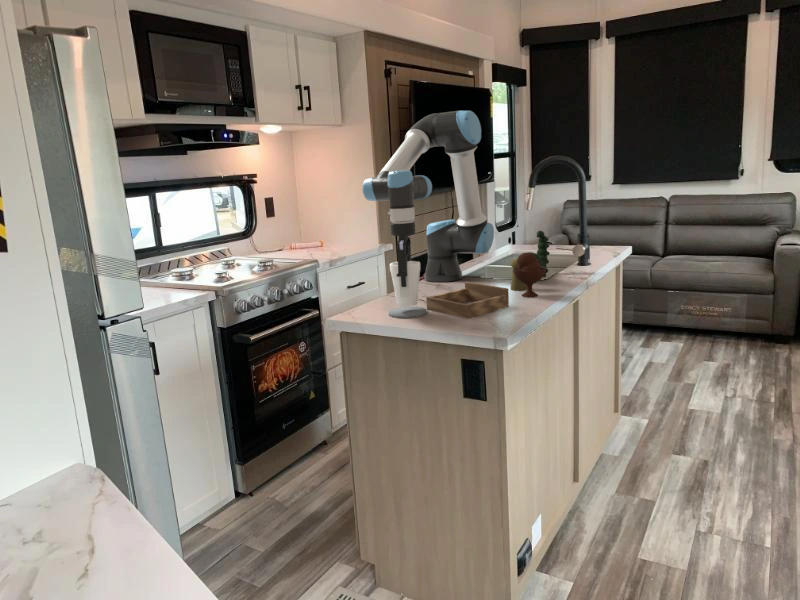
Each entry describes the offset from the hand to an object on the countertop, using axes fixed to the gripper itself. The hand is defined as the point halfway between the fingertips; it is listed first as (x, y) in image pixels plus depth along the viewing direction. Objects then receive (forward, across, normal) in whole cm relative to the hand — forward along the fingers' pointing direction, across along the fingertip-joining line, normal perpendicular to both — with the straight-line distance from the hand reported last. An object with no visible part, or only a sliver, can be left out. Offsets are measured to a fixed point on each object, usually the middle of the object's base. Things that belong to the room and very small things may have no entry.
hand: (406, 293), depth 194 cm
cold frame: (+6, -5, +19) cm, 20 cm away
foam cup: (+4, 0, 0) cm, 4 cm away
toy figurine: (+7, -50, +44) cm, 67 cm away
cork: (+7, -31, +37) cm, 49 cm away
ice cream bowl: (+7, -20, +40) cm, 45 cm away
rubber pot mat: (+6, 0, 0) cm, 6 cm away
